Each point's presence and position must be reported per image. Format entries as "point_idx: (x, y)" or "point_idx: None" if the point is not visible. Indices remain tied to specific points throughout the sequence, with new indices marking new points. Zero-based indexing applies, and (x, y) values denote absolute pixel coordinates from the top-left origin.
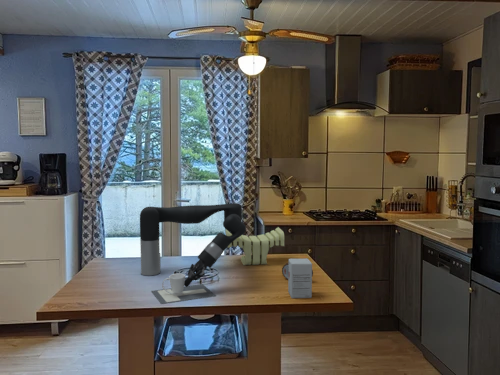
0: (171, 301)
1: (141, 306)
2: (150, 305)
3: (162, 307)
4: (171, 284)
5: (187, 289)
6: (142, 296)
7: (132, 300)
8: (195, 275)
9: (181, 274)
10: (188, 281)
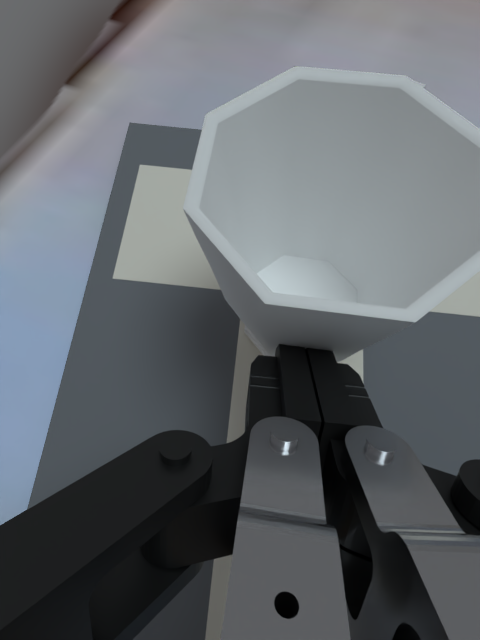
0: (130, 200)
1: (169, 22)
2: (152, 65)
3: (55, 110)
4: (289, 169)
5: None
6: None
7: (321, 14)
8: (41, 510)
9: (431, 286)
10: (249, 400)
